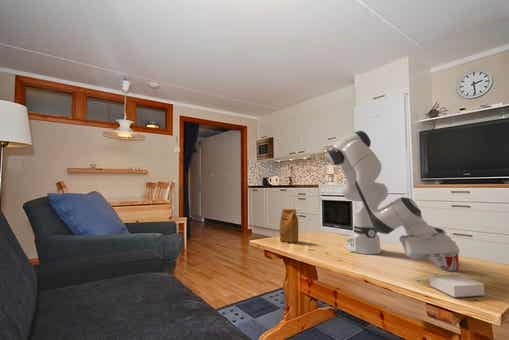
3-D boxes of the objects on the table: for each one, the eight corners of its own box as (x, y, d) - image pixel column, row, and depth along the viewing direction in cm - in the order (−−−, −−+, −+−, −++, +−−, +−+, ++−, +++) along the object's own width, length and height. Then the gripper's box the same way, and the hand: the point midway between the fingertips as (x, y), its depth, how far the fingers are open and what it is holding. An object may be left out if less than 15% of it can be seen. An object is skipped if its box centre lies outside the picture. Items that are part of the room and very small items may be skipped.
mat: (433, 288, 93) (433, 287, 93) (460, 286, 94) (460, 285, 94) (452, 297, 85) (452, 296, 85) (482, 295, 86) (482, 294, 86)
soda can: (435, 268, 115) (433, 240, 116) (446, 266, 118) (444, 239, 119) (452, 272, 109) (450, 243, 109) (463, 270, 111) (461, 242, 112)
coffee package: (287, 239, 183) (286, 207, 185) (300, 241, 173) (300, 208, 175) (277, 241, 177) (276, 208, 178) (290, 244, 167) (289, 209, 169)
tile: (429, 275, 94) (453, 286, 84) (456, 274, 95) (483, 284, 86) (430, 286, 94) (454, 297, 84) (457, 284, 95) (484, 295, 85)
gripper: (400, 231, 102) (421, 263, 91) (448, 229, 104) (472, 261, 94) (394, 240, 106) (412, 272, 96) (439, 238, 108) (462, 269, 98)
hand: (442, 266), depth 95 cm, fingers closed
